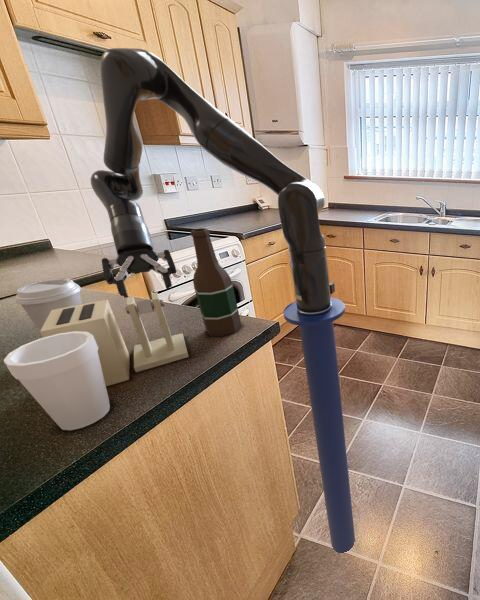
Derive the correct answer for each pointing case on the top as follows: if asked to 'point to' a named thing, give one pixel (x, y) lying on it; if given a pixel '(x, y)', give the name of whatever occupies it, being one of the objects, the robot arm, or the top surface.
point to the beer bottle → (213, 288)
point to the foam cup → (63, 377)
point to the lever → (145, 306)
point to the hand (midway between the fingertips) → (147, 292)
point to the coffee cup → (47, 298)
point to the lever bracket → (158, 349)
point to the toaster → (94, 335)
